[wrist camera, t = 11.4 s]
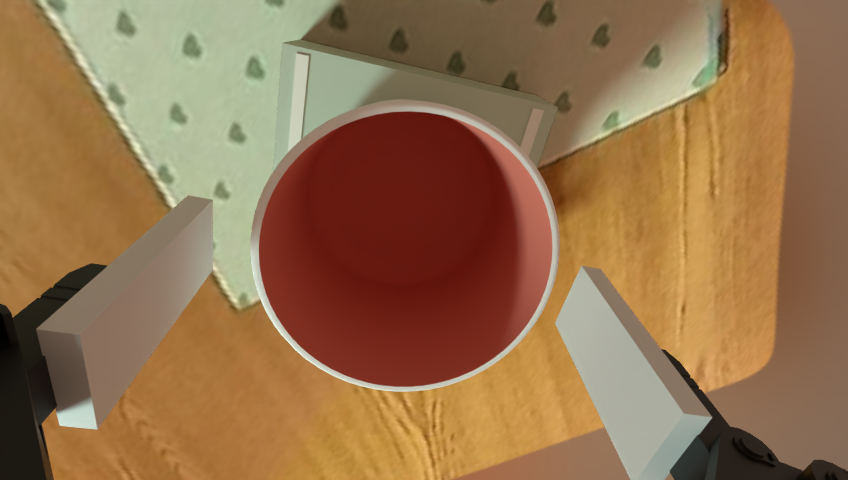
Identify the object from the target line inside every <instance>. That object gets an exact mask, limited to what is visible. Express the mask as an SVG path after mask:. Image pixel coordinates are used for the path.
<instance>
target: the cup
mask: <svg viewBox="0 0 848 480" xmlns="http://www.w3.org/2000/svg"><path fill="white" fill-rule="evenodd" d="M559 249H560V240H559V227H558V220H557V215H556V211H555V207H554V204H553V201H552V197H551V195H550V192H549V190H548V188H547V185H546V183H545V182H544V180H543V178H542V176H541V174H540V173H539V171H538V169H537V168H536V166H535V165H534V163H533V162H532V161H531V160H530V158H529V157H528V156H527V154H526V153H525V152H524V151H523V150H522V149H521V148H520V147H519V146H518V145H517V144H516V143H515V142H514V141H513V140H512V139H511V138H510V137H508V136H507V135H506V134H505V133H504V132H502V131H501V130H500V129H498V128H497V127H495V126H494V125H492V124H490V123H489V122H487V121H485V120H483V119H482V118H480V117H478V116H476V115H473V114H471V113H469V112H466V111H464V110H461V109H458V108H454V107H451V106H448V105H444V104H438V103H433V102H427V101H418V100H406V99H396V100H386V101H380V102H376V103H372V104H369V105H365V106H362V107H359V108H356V109H353V110H350V111H348V112H345V113H343V114H340V115H338V116H336V117H334V118H332V119H330V120H328V121H327V122H325V123H323V124H322V125H320V126H319V127H317V128H315V129H314V130H313V131H311V132H310V133H309V134H307V135H306V136H305V137H304V138H302V139H301V140H300V141H299V142H298V143H297V144H296V145H295V146H294V147H293V148H292V149H291V150H290V151H289V152H288V153H287V154H286V155H285V157H284V158H283V159H282V160H281V161H280V163H279V164H278V165H277V167H276V168H275V170H274V171H273V173H272V174H271V176H270V178H269V180H268V181H267V183H266V185H265V187H264V189H263V192H262V194H261V196H260V199H259V201H258V205H257V208H256V211H255V215H254V220H253V225H252V232H251V265H252V271H253V276H254V281H255V284H256V288H257V291H258V294H259V297H260V299H261V302H262V304H263V306H264V308H265V310H266V312H267V314H268V316H269V318H270V319H271V321H272V323H273V324H274V326H275V327H276V328H277V330H278V331H279V332H280V334H281V335H282V336H283V337H284V338H285V339H286V340H287V341H288V343H289V344H290V345H291V346H292V347H293V348H294V349H295V350H296V351H297V352H298V353H299V354H301V355H302V356H303V357H304V358H305V359H307V360H308V361H309V362H311V363H312V364H314V365H315V366H317V367H318V368H320V369H322V370H323V371H325V372H327V373H329V374H331V375H332V376H335V377H337V378H340V379H342V380H344V381H347V382H350V383H353V384H356V385H359V386H362V387H367V388H372V389H377V390H386V391H420V390H429V389H434V388H439V387H443V386H447V385H450V384H453V383H457V382H459V381H462V380H464V379H467V378H469V377H472V376H474V375H476V374H478V373H479V372H481V371H483V370H485V369H487V368H488V367H490V366H491V365H493V364H495V363H496V362H497V361H499V360H500V359H501V358H503V357H504V356H505V355H507V354H508V353H509V352H510V351H511V350H512V349H513V348H514V347H515V346H516V345H517V344H518V343H519V342H520V341H521V340H522V339H523V338H524V337H525V336H526V335H527V333H528V332H529V331H530V329H531V328H532V327H533V325H534V324H535V322H536V321H537V319H538V318H539V316H540V314H541V313H542V311H543V309H544V307H545V305H546V303H547V300H548V298H549V296H550V293H551V290H552V288H553V285H554V281H555V277H556V273H557V268H558V261H559Z"/></svg>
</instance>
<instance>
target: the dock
mask: <svg viewBox="0 0 848 480" xmlns="http://www.w3.org/2000/svg"><path fill="white" fill-rule="evenodd" d="M396 99H406V100H418V101H427V102H433V103H438V104H444V105H448V106H451V107H454V108H458V109H461V110H464V111H466V112H469V113H471V114H473V115H476V116H478V117H480V118H482V119H483V120H485V121H487V122H489V123H490V124H492V125H494V126H495V127H497V128H498V129H500V130H501V131H502V132H504V133H505V134H506V135H507V136H508V137H510V138H511V139H512V140H513V141H514V142H515V143H516V144H517V145H518V146H519V147H520V148H521V149H522V150H523V151H524V152H525V153H526V154H527V156H528V157H529V158H530V160H531V161H532V162H533V163H534V165H535V166H536V168H537V166H538V163H539V161H540V158H541V155H542V152H543V149H544V146H545V144H546V141H547V138H548V135H549V132H550V129H551V126H552V124H553V121H554V118H555V115H556V112H557V109H558V107H557V106H555V105H553V104H551V103H549V102H548V101H546V100H544V99H542V98H541V97H539V96H537V95H533V94H529V93H525V92H520V91H516V90H512V89H508V88H503V87H499V86H495V85H491V84H486V83H482V82H478V81H474V80H469V79H465V78H461V77H457V76H453V75H448V74H444V73H440V72H436V71H431V70H427V69H423V68H419V67H414V66H410V65H406V64H402V63H397V62H393V61H389V60H385V59H381V58H376V57H372V56H368V55H364V54H359V53H355V52H351V51H347V50H342V49H338V48H334V47H330V46H325V45H321V44H317V43H313V42H308V41H304V40H295V41H290V42H284V43H282V52H281V66H280V80H279V94H278V108H277V122H276V137H275V151H274V165H273V171H274V170H275V168H276V167H277V165H278V164H279V163H280V161H281V160H282V159H283V158H284V157H285V155H286V154H287V153H288V152H289V151H290V150H291V149H292V148H293V147H294V146H295V145H296V144H297V143H298V142H299V141H300V140H301V139H302V138H304V137H305V136H306V135H307V134H309V133H310V132H311V131H313V130H314V129H315V128H317V127H319V126H320V125H322V124H323V123H325V122H327V121H328V120H330V119H332V118H334V117H336V116H338V115H340V114H343V113H345V112H348V111H350V110H353V109H356V108H359V107H362V106H365V105H369V104H372V103H376V102H380V101H386V100H396Z"/></svg>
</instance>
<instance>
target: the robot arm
mask: <svg viewBox="0 0 848 480" xmlns="http://www.w3.org/2000/svg"><path fill="white" fill-rule="evenodd" d="M212 270H213V200H211V199H205V198H199V197H194V196H187V197H186V198H185V199H183V200H182V201H181V202H180V203H179V204H178V205H177V206H176V207H174V208H173V209H172V210H171V211H170V212H169V213H168V214H166V215H165V216H164V217H163V218H162V219H161V220H160V221H158V222H157V223H156V224H155V225H154V226H153V227H152V228H150V229H149V230H148V231H147V232H146V233H145V234H144V235H143V236H141V237H140V238H139V239H138V240H137V241H136V242H135V243H133V244H132V245H131V246H130V247H129V248H128V249H127V250H125V251H124V252H123V253H122V254H121V255H120V256H119V257H117V258H116V259H115V260H114V261H113V262H112V263H111V264H110V265H108V266H106V265H99V264H92V263H91V264H89V265H86V266H84V267H81V268H79V269H77V270H74V271H72V272H70V273H68V274H67V275H66V276H65V277H63V278H62V279H61V280H60V281H58V282H57V283H56V284H55V285H54V287H53V288H49V289H48V290H47V291H46V292H44V293H43V294H42V295H41V297H40V298H37V299H36V300H34V301H33V302H32V303H31V304H29V305H28V306H27V307H26V308H24V309H23V310H22V311H21V312H19V313H18V314H17V315H16V316H14V317H13V318H12V314H11V312H10V311H9V309H8V308H7V307H6V306H5V305H2V304H0V480H54V479H53V474H52V469H51V465H50V460H49V455H48V450H47V445H46V441H45V436H44V431H43V428H42V423H43V421H44V420H45V419H46V418H47V417H48V416H49V414H50V413H51V412H52V411H53V410H54V409H55V408H56V413H57V417H58V421H59V425H60V426H68V427H78V428H87V429H98V428H99V427H100V425H101V424H102V423H103V421H104V420H105V418H106V417H107V416H108V414H109V413H110V411H111V410H112V409H113V407H114V406H115V405H116V403H117V402H118V400H119V399H120V398H121V396H122V395H123V393H124V392H125V391H126V389H127V388H128V387H129V385H130V384H131V382H132V381H133V380H134V378H135V377H136V375H137V374H138V373H139V371H140V370H141V369H142V367H143V366H144V364H145V363H146V362H147V360H148V359H149V357H150V356H151V355H152V353H153V352H154V351H155V349H156V348H157V346H158V345H159V344H160V342H161V341H162V339H163V338H164V337H165V335H166V334H167V333H168V331H169V330H170V328H171V327H172V326H173V324H174V323H175V321H176V320H177V319H178V317H179V316H180V315H181V313H182V312H183V310H184V309H185V308H186V306H187V305H188V303H189V302H190V301H191V299H192V298H193V297H194V295H195V294H196V292H197V291H198V290H199V288H200V287H201V285H202V284H203V283H204V281H205V280H206V279H207V277H208V276H209V274H210V273H211V272H212ZM555 324H556V326H557V328H558V330H559V333H560V335H561V337H562V339H563V341H564V343H565V345H566V347H567V349H568V351H569V353H570V355H571V357H572V360H573V362H574V364H575V366H576V368H577V370H578V372H579V374H580V376H581V378H582V380H583V382H584V384H585V386H586V389H587V391H588V393H589V395H590V397H591V399H592V401H593V403H594V405H595V407H596V409H597V411H598V413H599V415H600V418H601V420H602V422H603V424H604V426H605V428H606V430H607V432H608V434H609V436H610V438H611V440H612V442H613V445H614V447H615V449H616V450H617V453H618V455H619V457H620V459H621V461H622V463H623V465H624V467H625V469H626V471H627V474H628V476H629V478H630V480H664V479H665V478H666V477H667V476H668V474H669V473H671V475H672V476H673V478H674V480H848V471H846V470H845V469H842V468H840V467H838V466H836V465H834V464H833V463H830V462H827V461H824V460H814V461H813V462H812V463H811V464H810V465H809V466H808V467H807V468H806V469H805V470H804V471H802V470H800V469H797V468H794V467H792V466H789V465H787V464H784V463H781V462H779V461H778V459H777V458H776V456H775V455H774V453H773V452H772V451H771V450H770V449H769V448H768V447H767V446H766V445H765V444H764V443H763V442H762V441H760V440H759V439H757V438H756V437H754V436H753V435H751V434H750V433H747V432H745V431H743V430H741V429H738V428H734V427H730V426H729V425H728V423H727V422H726V421H725V420H724V419H723V417H722V416H721V414H720V413H719V412H718V411H717V409H716V408H715V407H714V405H713V404H712V403H711V402H710V401H709V399H708V398H707V397H706V395H705V394H704V393H703V391H702V390H700V389H699V386H698V385H697V384H696V382H695V381H694V380H693V379H692V378H690V375H689V373H688V372H687V371H686V370H685V368H684V367H683V366H682V364H681V363H680V362H679V361H678V360H676V359H675V358H674V357H673V356H672V355H670V354H669V353H668V352H667V351H666V350H663V349H660V347H659V346H658V345H657V343H656V342H655V341H654V339H653V338H652V337H651V335H650V334H649V333H648V331H647V330H646V329H645V327H644V326H643V325H642V323H641V322H640V321H639V319H638V318H637V317H636V315H635V314H634V313H633V311H632V310H631V309H630V308H629V306H628V305H627V304H626V302H625V301H624V300H623V298H622V297H621V296H620V294H619V293H618V292H617V290H616V289H615V288H614V286H613V285H612V284H611V282H610V281H609V280H608V278H607V277H606V276H605V274H604V273H603V272H602V270H601V269H597V268H592V267H586V266H581V268H580V270H579V272H578V275H577V277H576V279H575V281H574V283H573V285H572V288H571V290H570V292H569V294H568V296H567V298H566V301H565V303H564V305H563V307H562V309H561V311H560V314H559V316H558V318H557V320H556V322H555Z"/></svg>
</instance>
